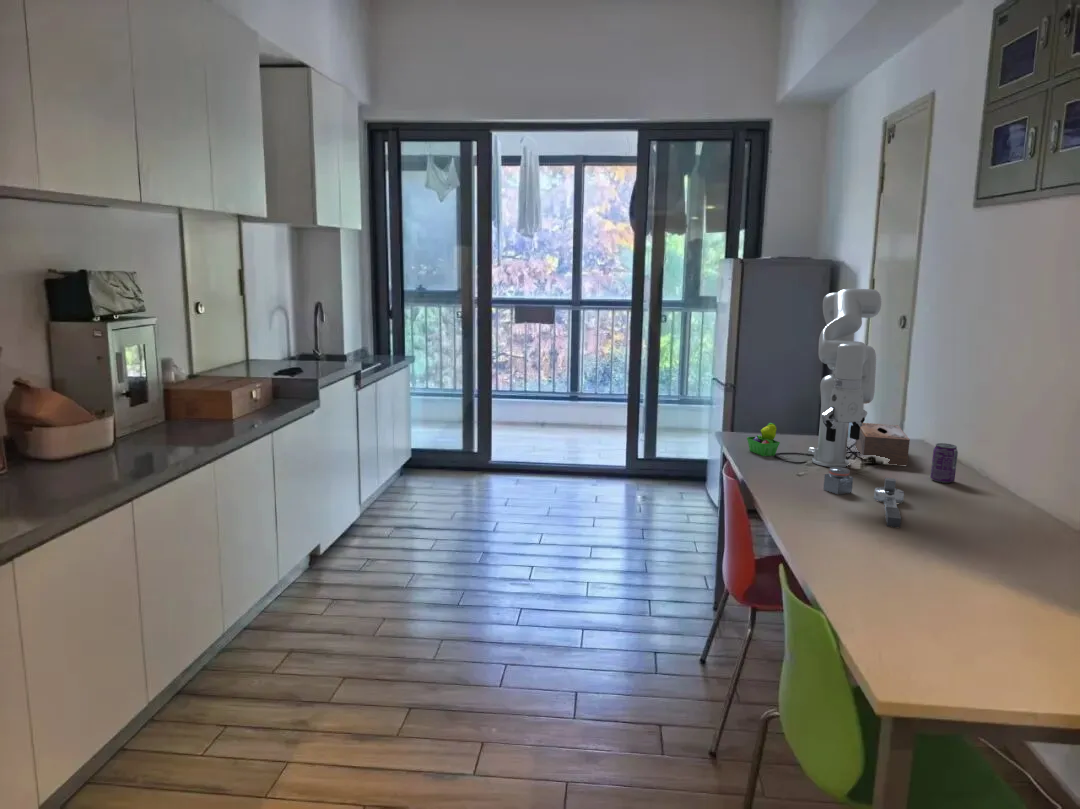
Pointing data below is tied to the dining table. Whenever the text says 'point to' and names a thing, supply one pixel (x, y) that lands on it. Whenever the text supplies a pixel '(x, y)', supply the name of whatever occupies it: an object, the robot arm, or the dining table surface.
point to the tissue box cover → (884, 442)
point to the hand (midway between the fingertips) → (842, 440)
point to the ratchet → (890, 501)
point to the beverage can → (944, 463)
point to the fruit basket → (764, 441)
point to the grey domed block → (838, 480)
